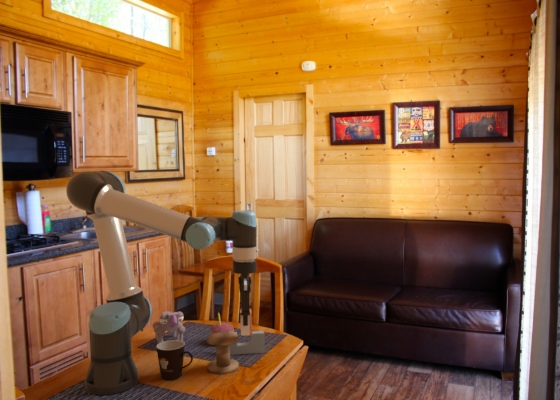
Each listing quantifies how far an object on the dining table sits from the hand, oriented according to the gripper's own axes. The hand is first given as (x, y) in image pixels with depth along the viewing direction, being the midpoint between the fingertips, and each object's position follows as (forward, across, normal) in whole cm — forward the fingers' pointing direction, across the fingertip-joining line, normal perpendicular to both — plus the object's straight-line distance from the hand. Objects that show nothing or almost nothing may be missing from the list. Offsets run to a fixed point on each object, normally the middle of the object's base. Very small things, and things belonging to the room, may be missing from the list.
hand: (244, 331), depth 156 cm
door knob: (+12, +2, +7) cm, 14 cm away
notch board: (+12, +14, 0) cm, 19 cm away
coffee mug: (+13, -3, +22) cm, 26 cm away
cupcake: (+13, +25, +7) cm, 29 cm away
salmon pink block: (0, 0, 0) cm, 1 cm away
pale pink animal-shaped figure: (+13, +25, +26) cm, 38 cm away
